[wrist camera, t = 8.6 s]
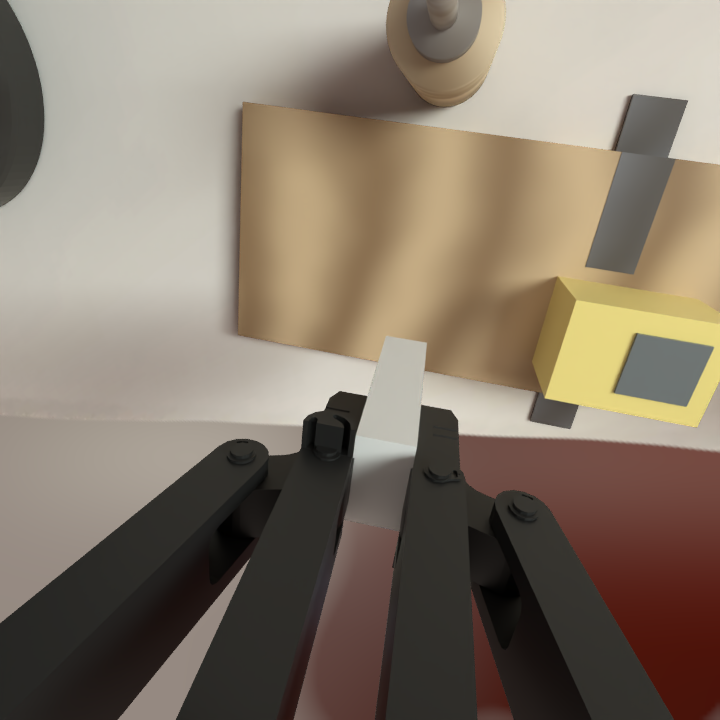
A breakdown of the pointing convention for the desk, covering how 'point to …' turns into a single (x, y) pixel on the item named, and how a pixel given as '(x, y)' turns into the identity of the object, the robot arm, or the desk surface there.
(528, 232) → the board
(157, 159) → the desk surface
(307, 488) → the robot arm
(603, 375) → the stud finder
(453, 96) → the awl
